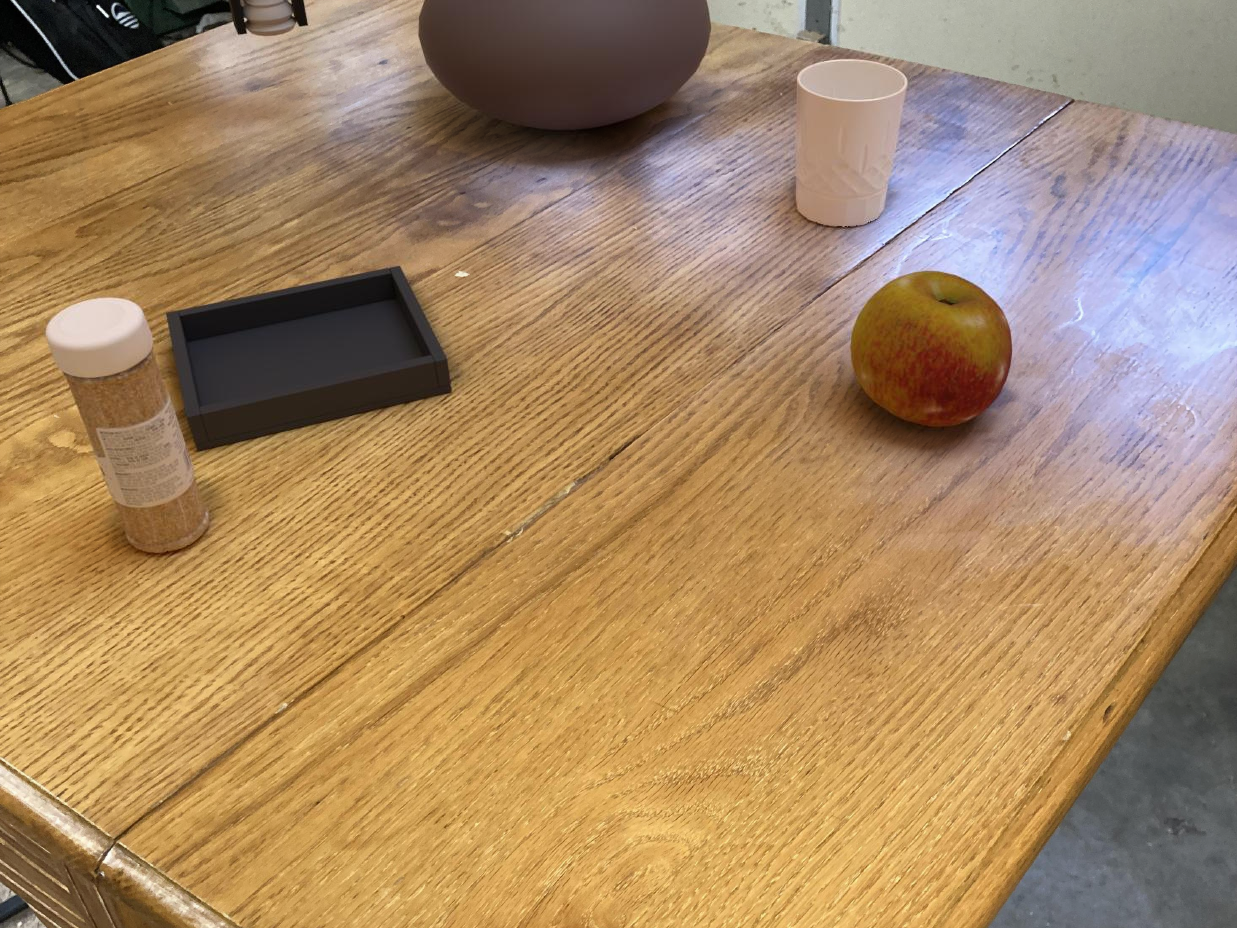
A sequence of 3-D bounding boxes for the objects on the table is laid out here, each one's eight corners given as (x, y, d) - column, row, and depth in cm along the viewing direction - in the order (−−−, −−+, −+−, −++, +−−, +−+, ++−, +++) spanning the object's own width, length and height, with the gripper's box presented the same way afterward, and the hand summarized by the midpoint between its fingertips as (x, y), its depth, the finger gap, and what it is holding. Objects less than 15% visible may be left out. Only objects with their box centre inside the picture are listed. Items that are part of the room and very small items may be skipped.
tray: (197, 451, 72) (186, 417, 70) (175, 345, 81) (165, 312, 79) (452, 392, 76) (447, 358, 74) (405, 297, 85) (399, 265, 83)
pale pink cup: (780, 226, 92) (789, 96, 85) (795, 181, 97) (804, 55, 91) (886, 236, 90) (903, 104, 84) (895, 190, 96) (911, 63, 89)
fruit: (1033, 419, 73) (1061, 303, 67) (918, 471, 69) (938, 352, 64) (924, 346, 79) (943, 234, 74) (814, 390, 76) (825, 276, 70)
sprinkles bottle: (133, 508, 68) (52, 298, 59) (216, 498, 69) (148, 289, 60) (121, 563, 65) (33, 349, 56) (209, 551, 65) (136, 338, 56)
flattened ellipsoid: (518, 47, 121) (504, -118, 111) (751, 85, 113) (758, -90, 103) (374, 141, 105) (343, -42, 95) (634, 194, 96) (630, -1, 86)
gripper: (81, -287, 84) (170, 54, 99) (334, -302, 89) (380, 25, 104) (77, -301, 89) (161, 25, 105) (315, -315, 94) (362, -1, 109)
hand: (270, 24), depth 104 cm, fingers closed on rook chess piece, 4 cm apart
